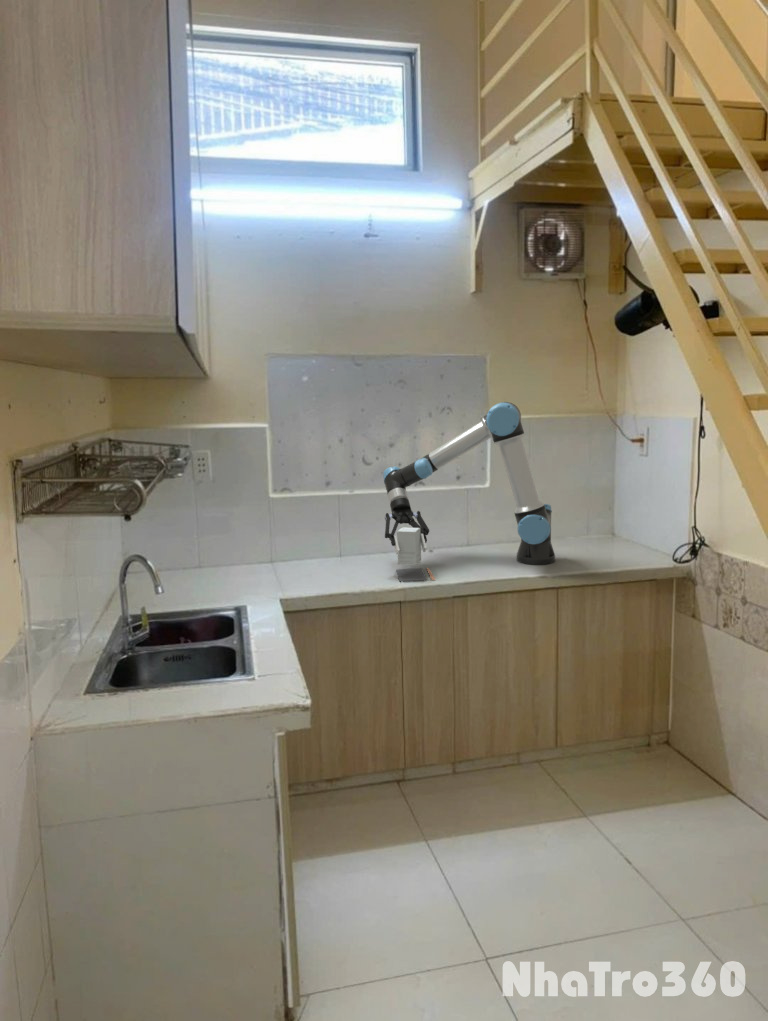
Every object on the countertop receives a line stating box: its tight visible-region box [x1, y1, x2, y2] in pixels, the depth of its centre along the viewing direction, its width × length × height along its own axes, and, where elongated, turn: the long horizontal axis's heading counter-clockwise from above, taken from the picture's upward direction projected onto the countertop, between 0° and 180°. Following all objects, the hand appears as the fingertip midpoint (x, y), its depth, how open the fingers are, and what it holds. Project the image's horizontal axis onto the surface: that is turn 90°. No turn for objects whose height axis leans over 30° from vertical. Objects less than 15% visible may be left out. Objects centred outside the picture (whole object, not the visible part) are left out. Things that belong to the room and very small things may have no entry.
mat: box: [395, 567, 428, 582], centre depth 258 cm, size 10×16×1 cm, turn 4°
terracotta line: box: [426, 567, 436, 581], centre depth 259 cm, size 1×16×1 cm, turn 4°
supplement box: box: [396, 526, 422, 566], centre depth 256 cm, size 7×7×13 cm
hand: (411, 551), depth 254 cm, fingers closed on supplement box, 10 cm apart
